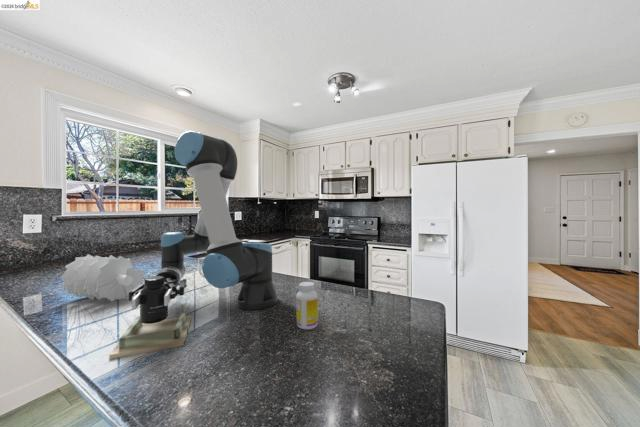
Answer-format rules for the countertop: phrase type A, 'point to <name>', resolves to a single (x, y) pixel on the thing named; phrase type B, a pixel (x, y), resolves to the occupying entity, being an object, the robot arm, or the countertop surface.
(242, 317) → the countertop surface
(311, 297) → the supplement bottle
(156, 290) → the supplement bottle
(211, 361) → the countertop surface
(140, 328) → the beige tray
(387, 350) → the countertop surface
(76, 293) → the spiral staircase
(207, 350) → the countertop surface
